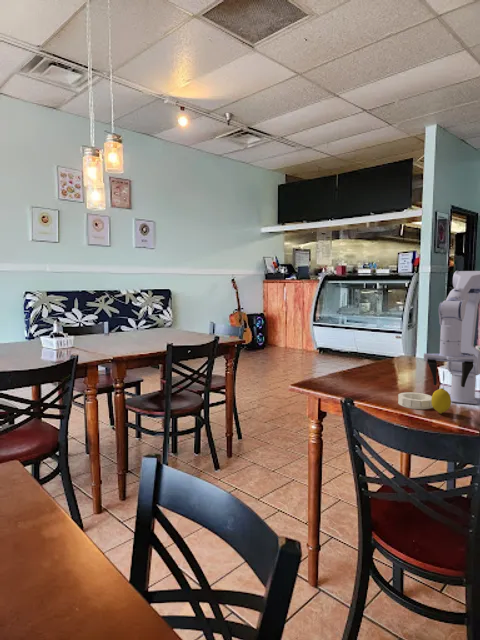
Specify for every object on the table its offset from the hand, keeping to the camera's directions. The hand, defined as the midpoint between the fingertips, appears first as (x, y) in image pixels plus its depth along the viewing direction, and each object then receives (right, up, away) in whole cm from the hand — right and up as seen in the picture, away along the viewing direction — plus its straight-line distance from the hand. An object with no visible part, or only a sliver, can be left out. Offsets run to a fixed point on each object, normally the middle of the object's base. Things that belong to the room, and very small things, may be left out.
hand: (448, 385), depth 133 cm
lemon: (-1, -10, +3) cm, 10 cm away
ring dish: (-5, -8, +13) cm, 16 cm away
